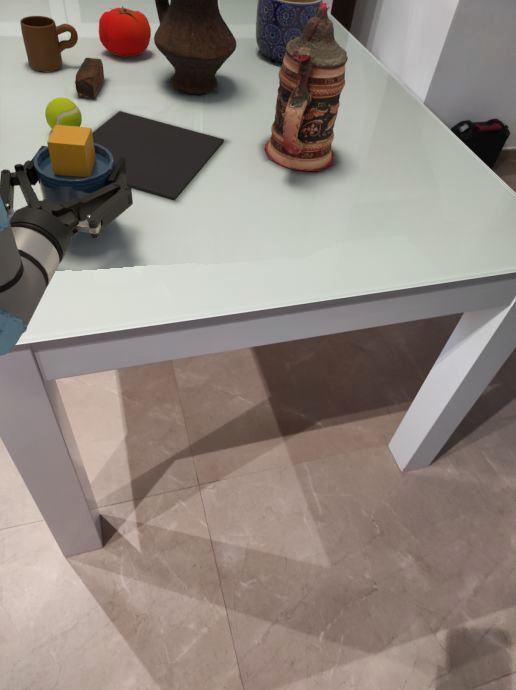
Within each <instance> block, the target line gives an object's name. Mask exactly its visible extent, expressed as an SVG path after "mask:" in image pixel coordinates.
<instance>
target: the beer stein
mask: <svg viewBox="0 0 516 690" xmlns="http://www.w3.org/2000/svg"><path fill="white" fill-rule="evenodd" d="M327 5H328V3H327V2H323V3H321V5H320V8H319V10H318V14H317V15H316V17H313V18H310V21H308V22H307V24H306V26H305V28H304V30H303V33H302V35H301V36H300V37H297V38H295V39H293V40H291V41H288V43H287V45H286V53H285V56H284V59H283V63H282V64H281V67H280V68H279V70H278V79H279V81H278V84H279V85H278V88H277V97H276V101H275V114H274V120H273V122H272V124H271V128H270V131H271V136H270V138H269V140H268V141H267V142H266V144H264V151H265V153H266V156H267V158H268V160H270V161H272V162H274V163H275V164H277V165H280V166H281V167H284V168H289V169H291V170H293V171H297V172H298V171H303V172H322V170H323V169H326V168H329V166H330V165H332V164H333V163H334V161H336V160H335V157H334V156H335V155H334V154H333V153H334V151H333V150H332V144H333V141H334V139H335V132H334V128H335V124H336V123H335V122H336V120H337V117H338V113H339V107H340V105H341V103H340V98H341V95H342V91H343V89H344V88H345V86H346V65H347V62H348V59H349V56H347V51H346V50H345V49H344V48H343V47H342V46H341V45H340V44H339V43H338V42H337V40H336V38H335V29H334V23H333V21H332V20H331V18H330V17H329V15H328V10H329V9H330V6H327Z"/></svg>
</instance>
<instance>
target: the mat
mask: <svg viewBox="0 0 516 690" xmlns="http://www.w3.org/2000/svg"><path fill="white" fill-rule="evenodd" d="M92 136H93V142H94V143H95V144H99V145H101V146H103V147H105V148H106V149H108V150H109V151H110V153H111V154H112V155H113V159H114V166H115V165H116V164H117V162H118V160H119V158H120V157H125V163H126V173H127V174H126V178H127V186H128V187H131V189H135V190H139V191H142V192H144V193H145V192H146V193H149V194H152V195H156V196H159V197H162V198H166V199H169V200H173V201H175V200H176V199H177V198H178V196H179V195H180V194H181V193H182V191H183V190H185V188H186V187H187V186H188V185H189V184H190V182H191V181H192V180H193V179H194V177H195V176H196V175H197V174H198V173H199V171H200V170H201V169H202V168H203V167H204V165H205V164H206V163H207V162H208V161H209V160H210V158H211V157H212V156H213V155H214V153H216V151H217V150H218V149H219V148H220V146H221V145H223V143H224V142H225V139H224V138H222V137H218V136H213V135H210V134H206V133H202V132H198V131H195V130H192V129H188V128H185V127H184V128H183V127H180V126H176V125H173V124H170V123H165V122H162V121H158V120H154V119H152V118H149V117H148V118H147V117H143V116H140V115H136V114H133V113H128V112H125V111H121V110H119V111H117V112H116V113H115V114H114V115H112V117H110V118H108V120H107V121H105V122H104V123H103V124H101V125H100V126H99V127H98V128H96V129H95V130H94V131H92Z"/></svg>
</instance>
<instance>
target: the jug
mask: <svg viewBox="0 0 516 690" xmlns="http://www.w3.org/2000/svg"><path fill="white" fill-rule="evenodd" d="M154 4H155V8H156V9H155V10H156V13H157V17H158V23H159V26H158V28H157V29H156V31H155V33H154V36H153V41H154V45H155V47H156V48H157V50H158V51H159V53H161V54H162V55H163V56H164V58H166V60H167V61H168V63H169V64H170V65H171V66H172V67H173V68H174V73H173V74H172V76H171V78H170V80H171V81H170V82H171V84H172V88H173V89H174V90H175V91H177V92H180V93H183V94H186V95H205V94H207V93H212V92H213V91H214V90H216V89H217V88H218V84H219V82H218V79H217V76H216V75H217V72H218V71H219V70H220V69H221V67H222V66H223V65H224V64H225V62H226V61H227V60H228V59H229V58H230V57H231V56H232V55H233V54H234V52H235V51H236V49H237V39H236V38H235V36H234V34H233V32H232V31H231V29H230V28H229V26H228V25H227V23H226V22H225V20H224V18H223V16H222V14H221V11H220V8H219V0H170V1H169V0H154Z"/></svg>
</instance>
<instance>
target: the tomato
mask: <svg viewBox="0 0 516 690" xmlns="http://www.w3.org/2000/svg"><path fill="white" fill-rule="evenodd" d="M109 9H110V10H108V11H104V12H103V13H102V14H101V15H100V18H99V20H98V37H99V41H100V43H101V45H102V46H103V48H105V50H106V51H108V52H109V53H110V54H112V55H116V56H119V57H121V58H122V57H123V58H124V57H135V56H139V55H140V54H142V53H144V52H145V51H147V49H148V48H149V45H150V41H151V36H152V28H151V25H150V22H149V19H148V18H147V16H146V15H145V13H143V12H141V11H140V10H133V9H130V8H127V7H124V6H123V5H121V7H115V8H110V7H109Z"/></svg>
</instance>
